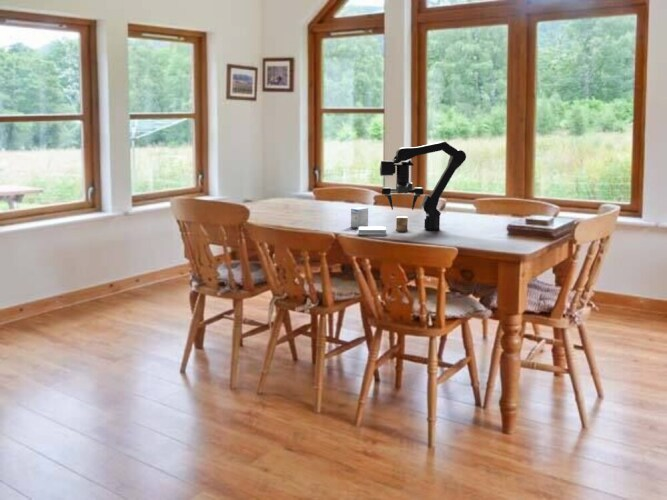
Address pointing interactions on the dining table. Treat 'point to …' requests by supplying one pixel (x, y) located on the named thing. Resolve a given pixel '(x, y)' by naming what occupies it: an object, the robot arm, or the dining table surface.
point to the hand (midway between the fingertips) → (402, 209)
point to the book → (372, 231)
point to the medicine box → (359, 217)
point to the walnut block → (401, 223)
